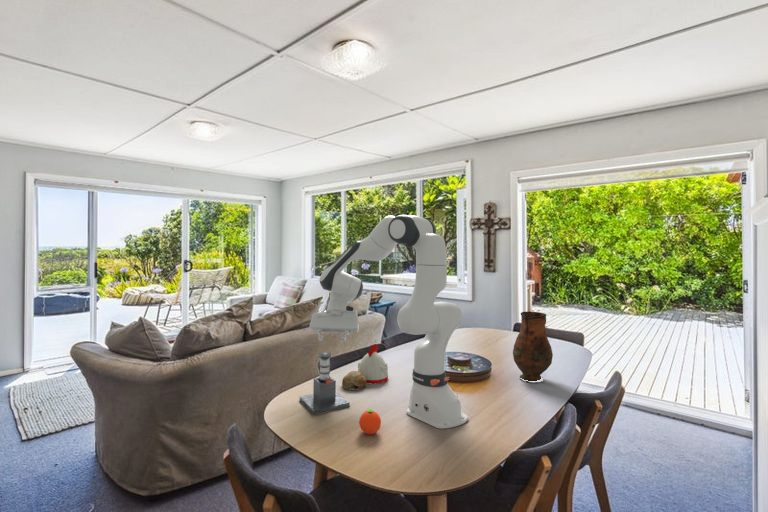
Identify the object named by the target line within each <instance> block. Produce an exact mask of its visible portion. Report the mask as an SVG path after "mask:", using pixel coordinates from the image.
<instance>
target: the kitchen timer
mask: <svg viewBox="0 0 768 512" xmlns="http://www.w3.org/2000/svg"><path fill="white" fill-rule="evenodd" d="M378 349H379V346H378V344H377V343H374V344H371V346H370V348H369V351H368V352H367V353H366V354H364V356H363V357H362V359H361V360H360V362H358V364H357V370H356V371H357V372H360V373H361V374H362V375H364V377H365V378H366V384H367V383H372V384H371V385H377V383H378V384H382V382H383V383H385V382H387V381H388V380H389V372H388V370H389V369H388V368H389V367H388V363H386V362H385V359H384V358H383V357H382V356H381V354H379V353H378ZM375 383H376V384H375Z"/></svg>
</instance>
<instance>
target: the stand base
mask: <svg viewBox="0 0 768 512" xmlns="http://www.w3.org/2000/svg"><path fill="white" fill-rule="evenodd" d="M336 384H337V382H336V380H335V378H332V376H330V380H326V381H325V382H323V383H321V382H320V380H319V377H315V378H313V386H312V387H313V393H310V394H306V395H301V396H299V401H300V403H301V404H302V405H304V407H305V408H306V409H307V410H308V411H309V412H310V413H311V414H312V415H313V416H315V415H316V416H317V415H319V414H320V415H321V414H324V413H328V412H332V411H336V410H337V411H338V410H340V409H345V408H348V407H350V406H351V403H350V401H348V399H346V398H345V397H343V396H342V395H341V394H340V393H339V392H338V391H336V390H337V389H336V387H337V385H336Z"/></svg>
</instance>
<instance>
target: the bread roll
mask: <svg viewBox="0 0 768 512" xmlns="http://www.w3.org/2000/svg"><path fill="white" fill-rule="evenodd" d="M357 371H358V370H352V371H350V372H348V373H347V374H346V375H344V377H343V378H342V380H341V381H342V382H341V384H342V387H343V388H344V389H346V390H349V389H351V390H350V391H358V390H357V389H359V390H362V388H363V389H365V388H366V386H367V383H366V378H365V377H364V375H362V374H361V373H360V372H357ZM364 387H365V388H364Z"/></svg>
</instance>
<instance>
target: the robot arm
mask: <svg viewBox="0 0 768 512" xmlns="http://www.w3.org/2000/svg"><path fill="white" fill-rule="evenodd" d="M397 244H399V245H401V246H404V247H407V248H414V251H415V255H416V262H415V263H416V264H415V281H414V282H415V283H414V287H413V291H412V293H411V295H410V297H409V299H408V300H407V302H406V303H405V304H404V305H403V306H401V307H400V309H399V311H398V313H397V316H396V317H397V319H396V320H397V321H396V322H397V324H398V327H399V329H400V331H402V333H404V334H408V335H415V336H416V335H418V336H419V335H425V336H424V338H423V339H422V340H421V342H419V343H417V345H416V346H415V348H414V352H413V353H414V354H413V355H414V356H413V358H414V360H413V368H412V373H411V375H412V381H413V383H412V386H411V388H410V393H409V401H408V402H409V403H408V408H407V409H406V415H408V416H411V417H413V418H414V419H417V420H419V421H421V422H423V423H426V424H428V425H430V426H432V427H433V428H436V429H450V428H455V427H458V426H461V425H464V424H465V423H467V422H468V420H469V416H468V415H467V414H466V413H464V411H462V406H461V405H462V404H461V401H460V399H459V396H458V395H457V394H456V393H455V392H454V391H453V389H452V388H451V386H450V385H449V384H448V381H449V380H451V379H449V378H450V376H447V374H446V370H445V364H446V363H445V361H446V351H447V347H448V343H449V341H450V339H451V337H452V335H453V333H454V332H455V331H456V330H457V329H458V328H459V327H460V326H461V324H462V321H463V314H462V313H463V312H462V310H461V308H460V307H459V304H456V303H454V302H449V301H436V298H437V296H438V295H439V294H440V293H441V292H442V291H444V290H445V288H446V286H447V279H448V278H447V277H448V276H447V274H448V256H447V246H446V241H445V238H443V236H441V235H440V234H437V228H436V225H435V224H434V222H433V221H432V220H431V219H430V218H427V217H421V216H419V215H414V214H408V215H407V214H399V215H396V216H395V215H386V216H385V217H383V218H382V219H381V220H380V221H379V222H378V223H377V224H376V226H374V228H373V229H372V230H371V232H370V233H369V234H368V236H367V237H365V238H362V239H361V240H356V241H353V242H352V243H351V244H350V245H349V246H348V247H347V248H346V249H345V250H344V251H343V252H342V253H341V254H340V255H339V256H338V257H337V258H336V259H335V260H334V261H333V262H332V263H331V264H330V265H329V266H327V267H326V268H325V269H324V270H323V271H322V273H321V274H320V276H319V277H320V278H319V284H320V286H321V288H322V289H323V290H325V291H329V292H330V293H329V301H328V303H327V307H326V310H322V311H321V310H316V311H314V312H313V313H312V314H311V319H310V322H309V329H310V330H311V332H315V333H317V336H318V337H317V339H318V341H319V342H321V341H323V338H324V336H323V334H322V333H341V334H342V333H343V334H344V335H341V339H340V340H341V342H346V340H347V338H348V337H349V336H350V334H357V333H358V332H359V331H360V325H359V324H360V322H359V317H358V310H357V308H356V307H355V306H351V305H349V303H352V302H354V301H356V300H358V299H359V298H360V297H361V296H362V294H363V289H364V283H363V282H362V279H360V278H358V277H356V276H354V275H352V274H349V273H347V272H345V271H343V270H344V269H345V268H346V267H347V266H349V264H350V263H351V262H353V261H359V260H360V261H361V260H362V261H363V260H364V261H371V262H379V261H382V260H384V259H386V258H388V256H389V255H390V254H391V253H392V252H393V251H394V250H395V248H396V246H397ZM435 301H436V302H435Z"/></svg>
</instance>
